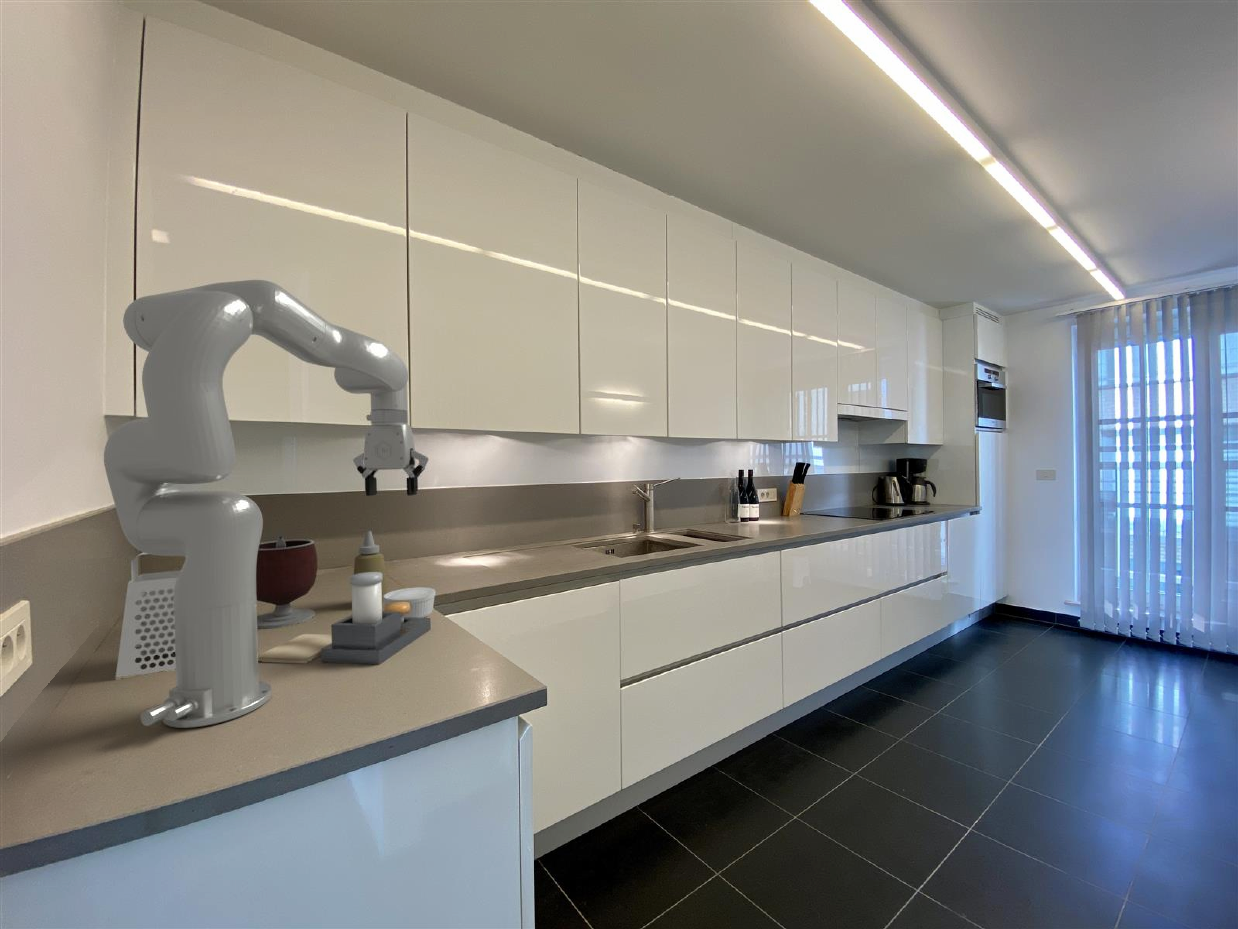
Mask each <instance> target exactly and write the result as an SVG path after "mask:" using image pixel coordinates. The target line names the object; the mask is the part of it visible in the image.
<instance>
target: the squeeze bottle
mask: <svg viewBox="0 0 1238 929" xmlns="http://www.w3.org/2000/svg"><path fill="white" fill-rule="evenodd" d="M353 566H354V567H353V575H355V574H359V573H365V572H380V573H382V581H381V589H382V603H384V601H383V596H384V595H385V594H387V593H388V592H387V591H388V580H387V574H386V573H387V572H386V564H385V557H384V554H382V553H380V545H379V544H375V541H374V537H373V533H372V531H371V530H368V531H365V536H364V541H363V545H360V546H359V547H358V555H356V556H354V565H353Z"/></svg>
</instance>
